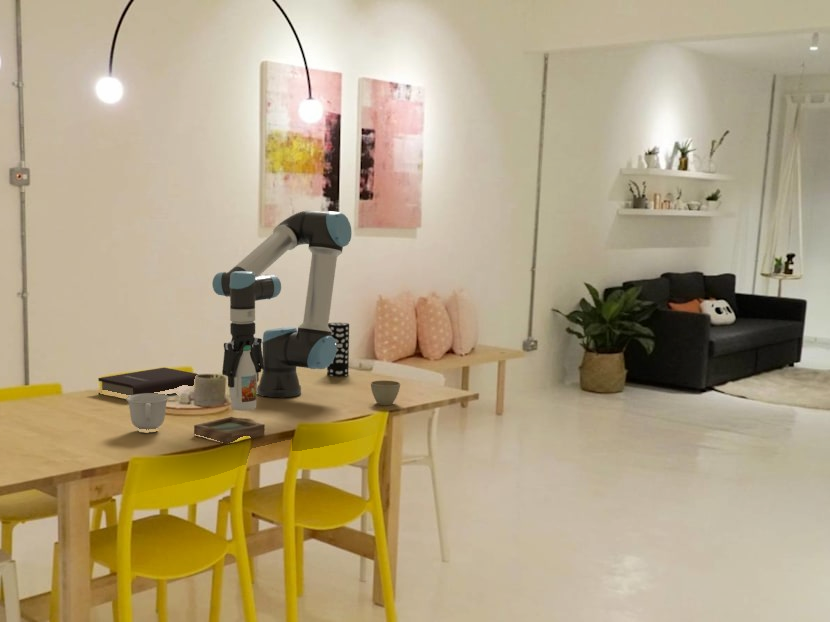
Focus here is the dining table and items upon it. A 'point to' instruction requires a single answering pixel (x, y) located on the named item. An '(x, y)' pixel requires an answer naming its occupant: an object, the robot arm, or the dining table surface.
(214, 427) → the brown wooden square tray
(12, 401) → the dining table surface
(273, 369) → the robot arm
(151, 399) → the teacup
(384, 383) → the bowl
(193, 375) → the book
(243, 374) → the milk bottle
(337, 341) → the white-spotted black cylinder
